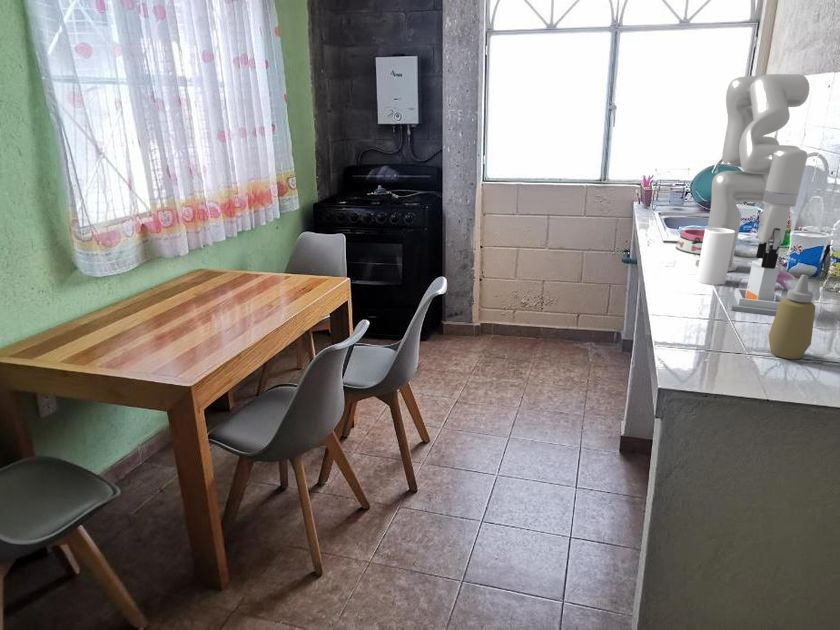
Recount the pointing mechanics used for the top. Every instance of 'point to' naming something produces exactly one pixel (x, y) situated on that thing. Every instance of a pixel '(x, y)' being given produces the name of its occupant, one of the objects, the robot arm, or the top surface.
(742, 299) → the grey square frame
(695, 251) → the dog bowl
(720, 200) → the robot arm
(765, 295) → the skincare box
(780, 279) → the lily
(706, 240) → the cup
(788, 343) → the squeeze bottle
